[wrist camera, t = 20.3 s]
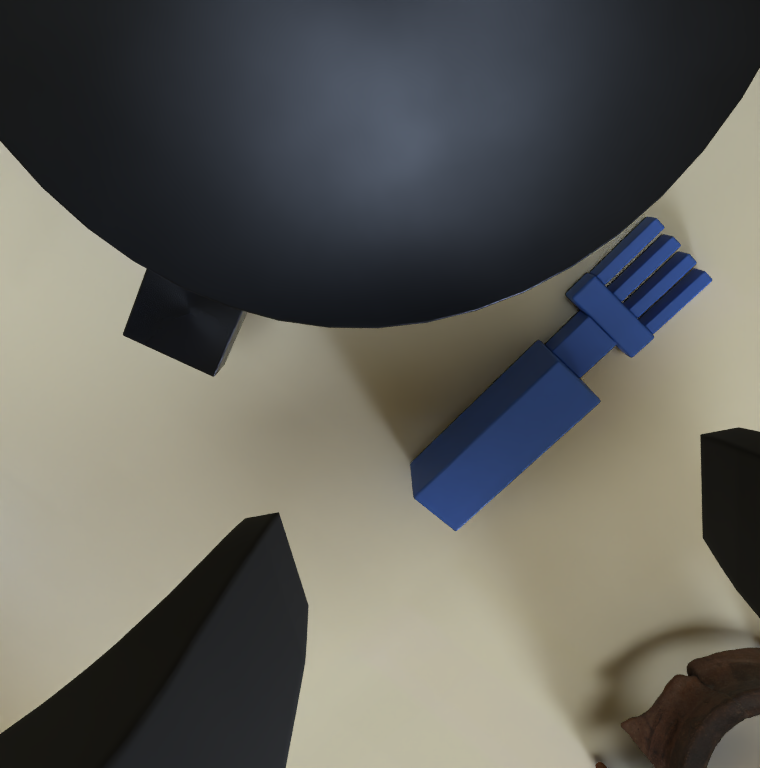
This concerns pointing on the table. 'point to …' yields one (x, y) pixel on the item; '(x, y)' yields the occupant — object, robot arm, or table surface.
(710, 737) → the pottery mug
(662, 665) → the table surface
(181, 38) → the lid
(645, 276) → the fork
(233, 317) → the pot
